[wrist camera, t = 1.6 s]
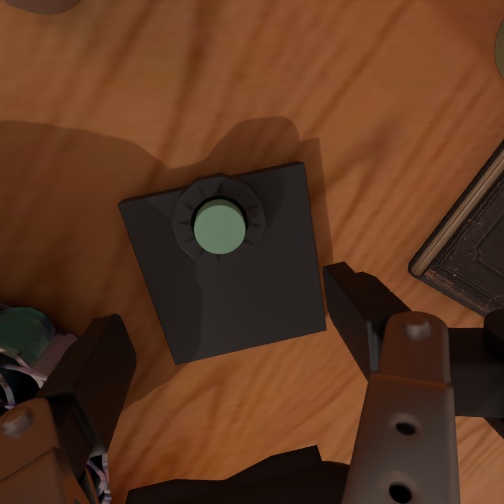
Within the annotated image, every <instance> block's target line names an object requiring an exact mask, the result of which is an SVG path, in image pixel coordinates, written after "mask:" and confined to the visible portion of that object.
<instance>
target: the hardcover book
mask: <svg viewBox="0 0 504 504" xmlns="http://www.w3.org/2000/svg"><path fill="white" fill-rule="evenodd" d="M408 272H409V273H410V274H411V275H412V276H413V277H415V278H417V279H418V280H420V281H422V282H424V283H425V284H427V285H429V286H430V287H432V288H434V289H436V290H437V291H439V292H441V293H443V294H444V295H446V296H448V297H450V298H451V299H453V300H455V301H457V302H458V303H460V304H462V305H464V306H465V307H467V308H469V309H470V310H472V311H474V312H476V313H477V314H479V315H481V316H483V317H484V318H485V316H486V315H487V314H488V313H489V312H491V311H494V310H497V309H504V141H503V142H502V144H501V145H500V146H499V148H498V149H497V150H496V151H495V153H494V154H493V155H492V157H491V158H490V159H489V161H488V162H487V163H486V164H485V166H484V167H483V168H482V170H481V171H480V172H479V174H478V175H477V176H476V177H475V179H474V180H473V181H472V183H471V184H470V185H469V187H468V188H467V189H466V190H465V192H464V193H463V194H462V196H461V197H460V198H459V199H458V201H457V202H456V203H455V205H454V206H453V207H452V209H451V210H450V211H449V212H448V214H447V215H446V216H445V218H444V219H443V220H442V222H441V223H440V224H439V225H438V227H437V228H436V229H435V231H434V232H433V233H432V235H431V236H430V237H429V238H428V240H427V241H426V242H425V244H424V245H423V246H422V248H421V249H420V250H419V251H418V253H417V254H416V255H415V257H414V258H413V259H412V261H411V262H410V263H409V266H408Z"/></svg>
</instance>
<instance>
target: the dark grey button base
mask: <svg viewBox="0 0 504 504" xmlns="http://www.w3.org/2000/svg"><path fill="white" fill-rule="evenodd" d="M217 199H222V200H227V201H230V202H232V203H233V204H235V205H236V206H237V207H238V208H239V210H240V211H241V213H242V216H243V219H244V223H245V228H246V231H245V236H244V239H243V241H242V243H241V244H240V245H239V246H238V247H237V248H236V249H235V250H233V251H231V252H229V253H225V254H215V253H211V252H209V251H207V250H205V249H204V248H203V247H201V245H200V244H199V243H198V242H197V240H196V237H195V234H194V225H195V220H196V216H197V213H198V211H199V210H200V208H201V207H202V206H203V205H204V204H206V203H207V202H209V201H212V200H217ZM118 207H119V210H120V212H121V215H122V218H123V221H124V224H125V226H126V229H127V232H128V235H129V237H130V240H131V243H132V246H133V248H134V251H135V254H136V257H137V260H138V262H139V265H140V268H141V271H142V273H143V276H144V279H145V282H146V284H147V287H148V290H149V293H150V295H151V298H152V301H153V304H154V307H155V309H156V312H157V315H158V318H159V320H160V323H161V326H162V329H163V331H164V334H165V337H166V340H167V343H168V345H169V348H170V351H171V354H172V356H173V359H174V362H175V365H178V364H183V363H187V362H191V361H196V360H200V359H204V358H209V357H213V356H217V355H222V354H226V353H230V352H235V351H239V350H243V349H248V348H252V347H256V346H261V345H265V344H269V343H274V342H278V341H282V340H287V339H291V338H295V337H300V336H304V335H308V334H313V333H317V332H321V331H326V330H327V329H326V321H325V314H324V307H323V299H322V292H321V285H320V277H319V270H318V263H317V255H316V248H315V241H314V233H313V226H312V219H311V211H310V204H309V197H308V189H307V182H306V175H305V167H304V163H302V162H300V161H296V162H292V163H287V164H283V165H278V166H273V167H269V168H264V169H260V170H255V171H251V172H246V173H242V174H237V175H232V176H230V175H227V174H224V173H216V174H212V175H207V176H203V177H198V178H196V179H195V180H194V181H193V182H192V183H191V184H190V185H187V186H182V187H178V188H173V189H169V190H164V191H159V192H155V193H150V194H146V195H141V196H137V197H132V198H128V199H123V200H122V201H121V202H119V203H118Z"/></svg>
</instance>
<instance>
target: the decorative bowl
mask: <svg viewBox="0 0 504 504" xmlns="http://www.w3.org/2000/svg"><path fill="white" fill-rule="evenodd" d="M77 339H78V338H77V337H76V336H75V335H73V334H72V333H71V332H59V331H56V328H55V327H54V325H53V324H52V322H51V321H50V319H49V318H48V316H47V315H46V314H45V313H43V312H41V311H39V310H37V309H35V308H32V307H14V308H13V307H10V306H8V305H5V304H2V303H0V416H1V415H3V414H4V413H5V412H7V411H8V410H10V409H11V408H13V407H14V406H16V405H18V404H20V403H22V402H25V401H27V400H30V399H34V397H35V396H36V394H37V393H38V391H39V390H40V388H41V387H42V385H43V384H44V382H45V381H46V379H47V378H48V376H49V375H50V373H51V372H52V370H55V368H54V367H55V366H56V364H57V363H58V362H59V361H60V360H61V357H62V356H63V354H64V353H65V351H66V350H67V348H68V347H69V346H70V345H71V344H72V343H73V342H75V341H76V340H77ZM86 468H87V470H88V471H89V473H90V476H91V479H92V482H93V485H94V488H95V491H96V494H97V497H98V500H99V503H100V504H109V503H110V501H111V495H110V492H109V488H108V483H109V477H108V459H107V454H103V455H99V456H95V457H91V458H89V459H88V462H87V464H86Z"/></svg>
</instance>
